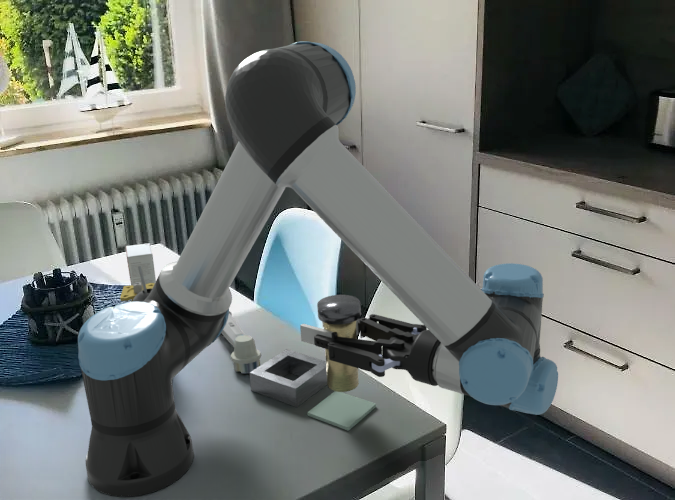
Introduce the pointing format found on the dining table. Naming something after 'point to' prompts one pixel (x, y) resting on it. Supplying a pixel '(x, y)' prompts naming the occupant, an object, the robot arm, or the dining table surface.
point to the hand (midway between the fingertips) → (313, 325)
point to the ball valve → (133, 290)
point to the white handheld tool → (241, 347)
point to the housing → (290, 392)
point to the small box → (140, 263)
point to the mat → (341, 410)
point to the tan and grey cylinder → (341, 319)
